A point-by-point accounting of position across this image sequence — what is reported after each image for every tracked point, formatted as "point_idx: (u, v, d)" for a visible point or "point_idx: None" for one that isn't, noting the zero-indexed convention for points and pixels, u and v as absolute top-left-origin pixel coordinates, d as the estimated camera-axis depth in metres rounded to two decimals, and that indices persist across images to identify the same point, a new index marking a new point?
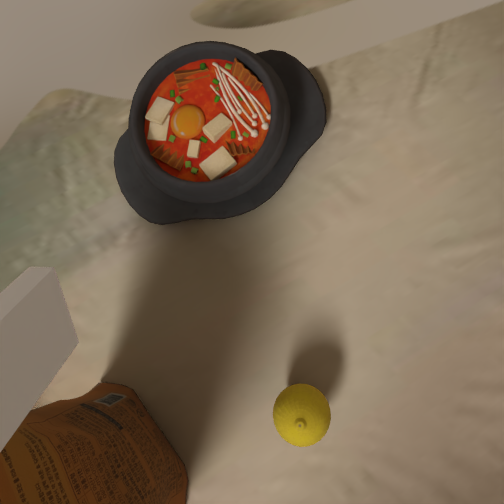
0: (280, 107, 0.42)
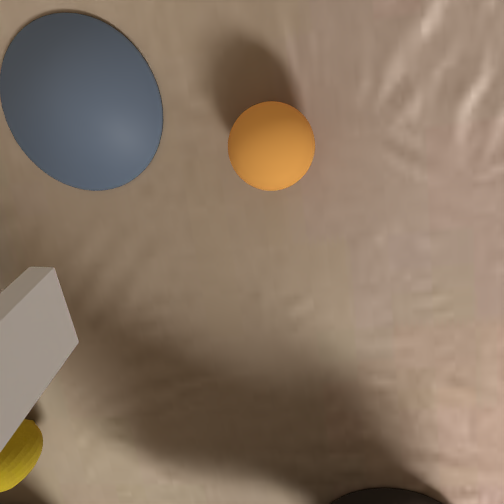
0: None
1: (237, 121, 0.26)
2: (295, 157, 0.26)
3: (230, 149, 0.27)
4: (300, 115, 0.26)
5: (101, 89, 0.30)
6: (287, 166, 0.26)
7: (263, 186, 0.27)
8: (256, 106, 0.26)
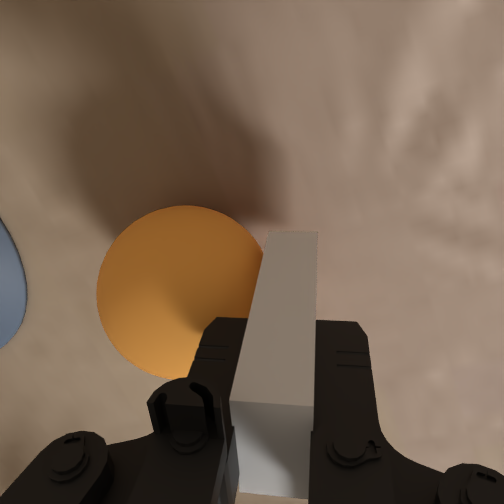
0: None
1: (100, 268, 0.13)
2: None
3: None
4: (220, 235, 0.12)
5: None
6: None
7: None
8: (127, 234, 0.13)
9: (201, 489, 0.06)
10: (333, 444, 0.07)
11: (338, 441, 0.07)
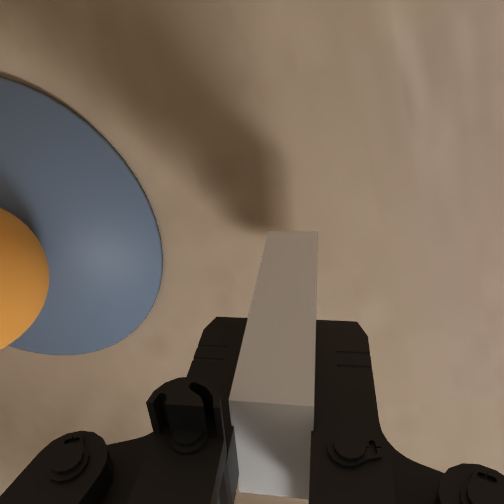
0: None
1: None
2: (41, 247, 0.16)
3: None
4: None
5: (37, 201, 0.16)
6: (46, 265, 0.15)
7: (30, 325, 0.15)
8: None
9: (201, 489, 0.06)
10: (335, 444, 0.07)
11: (339, 441, 0.07)
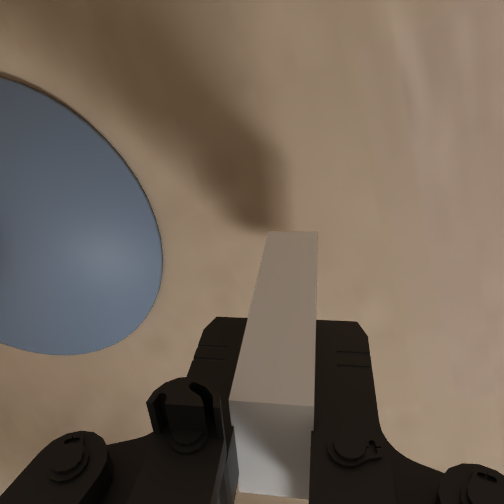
0: None
1: None
2: None
3: None
4: None
5: (37, 201, 0.16)
6: None
7: None
8: None
9: (201, 489, 0.06)
10: (335, 444, 0.07)
11: (339, 441, 0.07)
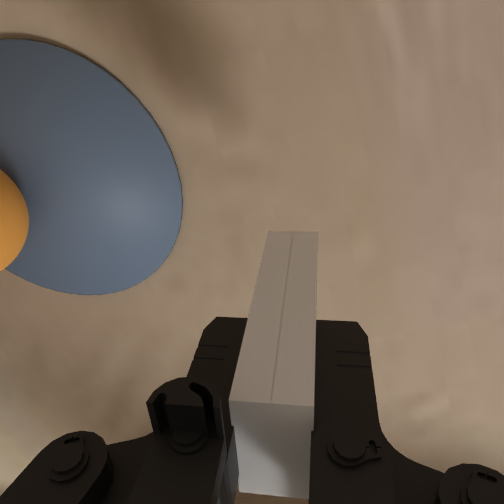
0: None
1: None
2: None
3: None
4: None
5: (75, 153, 0.18)
6: None
7: None
8: None
9: (201, 489, 0.06)
10: (334, 443, 0.07)
11: (338, 441, 0.07)
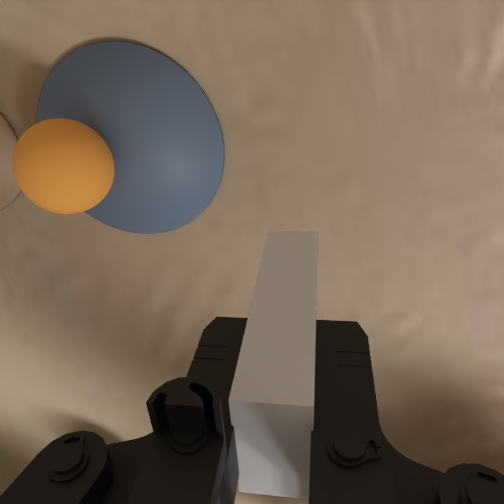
0: None
1: (14, 154, 0.24)
2: (95, 165, 0.24)
3: (21, 185, 0.24)
4: (79, 123, 0.25)
5: (150, 122, 0.26)
6: (91, 177, 0.24)
7: (77, 208, 0.25)
8: (27, 131, 0.24)
9: (201, 489, 0.06)
10: (334, 443, 0.07)
11: (338, 441, 0.07)
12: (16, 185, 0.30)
